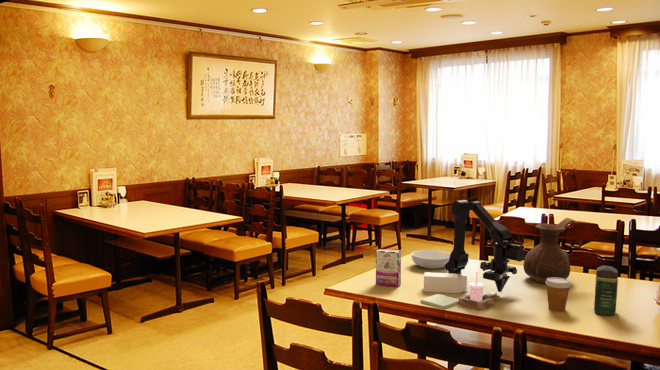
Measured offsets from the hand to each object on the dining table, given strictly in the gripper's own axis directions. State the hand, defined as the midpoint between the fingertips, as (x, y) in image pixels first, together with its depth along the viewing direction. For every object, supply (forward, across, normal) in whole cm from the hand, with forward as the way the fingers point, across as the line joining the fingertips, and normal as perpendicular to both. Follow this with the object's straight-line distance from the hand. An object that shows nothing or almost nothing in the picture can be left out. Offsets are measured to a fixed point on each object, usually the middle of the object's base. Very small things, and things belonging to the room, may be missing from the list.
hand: (499, 292), depth 243 cm
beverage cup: (+2, +18, 0) cm, 19 cm away
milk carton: (-2, +16, -29) cm, 33 cm away
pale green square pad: (+2, +26, -12) cm, 29 cm away
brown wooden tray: (+2, +14, 0) cm, 14 cm away
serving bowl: (+2, -20, -52) cm, 55 cm away
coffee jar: (+2, -12, +40) cm, 42 cm away
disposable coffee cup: (+2, -2, +25) cm, 25 cm away
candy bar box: (+2, +22, -45) cm, 50 cm away
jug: (+2, -40, +2) cm, 40 cm away
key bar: (+2, +8, 0) cm, 8 cm away
